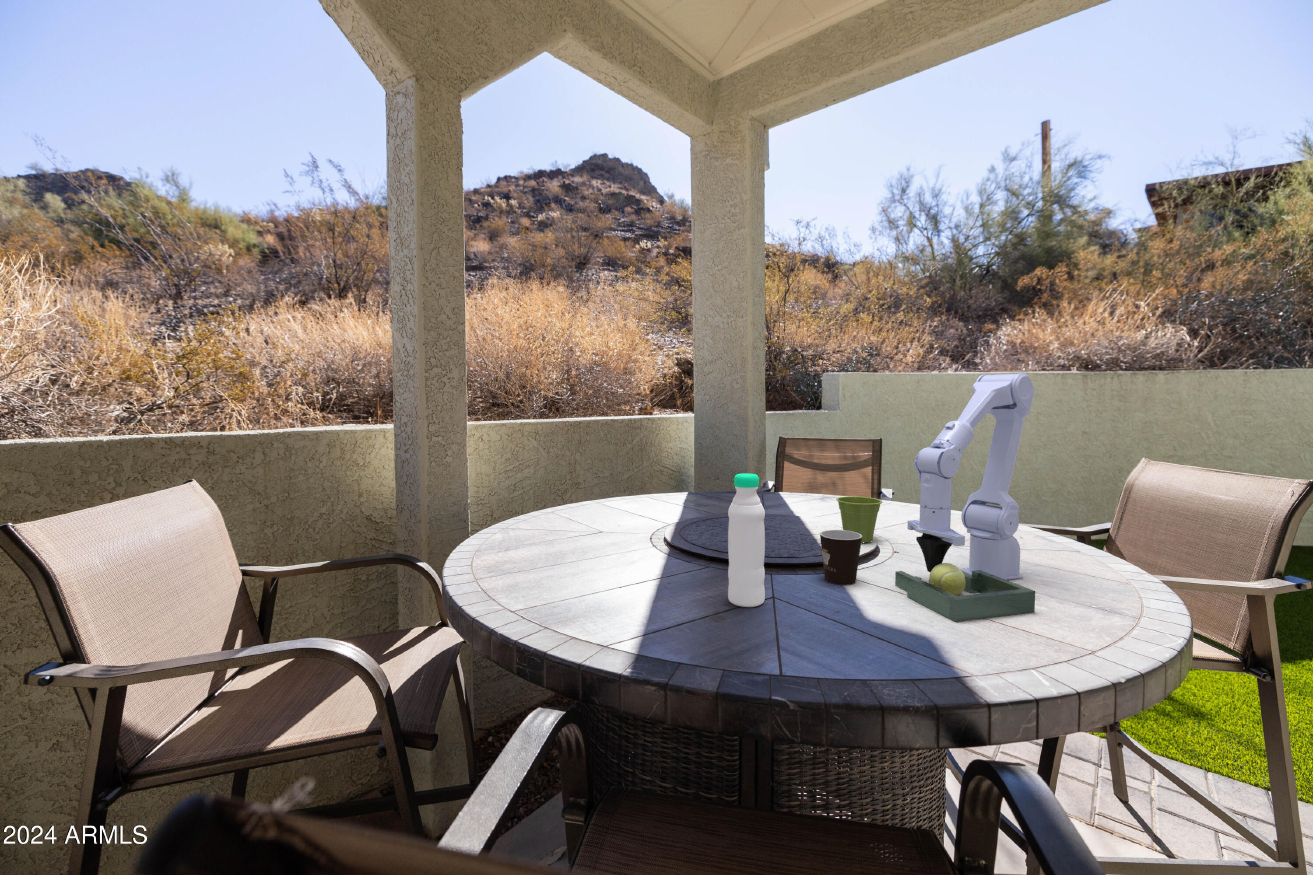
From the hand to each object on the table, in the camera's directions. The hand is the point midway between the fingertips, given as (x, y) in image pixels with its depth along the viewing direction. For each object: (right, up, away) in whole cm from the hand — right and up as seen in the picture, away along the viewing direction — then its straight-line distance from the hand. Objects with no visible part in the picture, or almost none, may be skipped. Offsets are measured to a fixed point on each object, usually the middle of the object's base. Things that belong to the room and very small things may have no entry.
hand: (933, 571), depth 120 cm
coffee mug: (-17, -3, +7) cm, 19 cm away
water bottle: (-40, -5, -6) cm, 40 cm away
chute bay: (+1, -4, -5) cm, 7 cm away
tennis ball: (+1, -4, -4) cm, 5 cm away
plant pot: (-2, -1, +39) cm, 39 cm away
